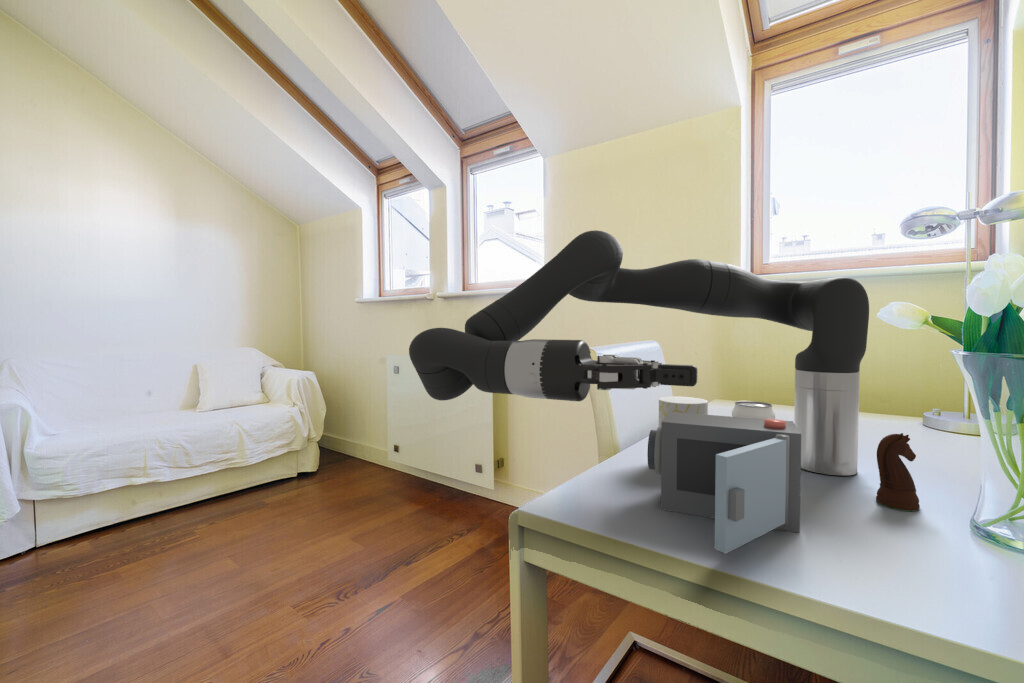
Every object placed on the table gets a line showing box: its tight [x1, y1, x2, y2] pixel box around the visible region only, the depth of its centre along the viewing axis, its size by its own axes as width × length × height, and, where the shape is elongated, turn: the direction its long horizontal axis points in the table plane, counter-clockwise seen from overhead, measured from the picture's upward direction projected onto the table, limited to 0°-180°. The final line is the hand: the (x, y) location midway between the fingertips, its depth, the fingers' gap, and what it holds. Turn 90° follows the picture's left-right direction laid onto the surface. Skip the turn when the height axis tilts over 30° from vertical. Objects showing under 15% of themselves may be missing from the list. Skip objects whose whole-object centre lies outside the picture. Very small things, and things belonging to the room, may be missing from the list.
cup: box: [658, 395, 709, 427], centre depth 78 cm, size 8×8×12 cm
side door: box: [714, 434, 789, 555], centre depth 49 cm, size 2×14×11 cm, turn 124°
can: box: [731, 400, 776, 419], centre depth 75 cm, size 6×6×12 cm
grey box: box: [647, 412, 802, 534], centre depth 61 cm, size 8×18×13 cm, turn 64°
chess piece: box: [875, 432, 921, 512], centre depth 61 cm, size 5×5×10 cm
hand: (696, 375), depth 48 cm, fingers closed
